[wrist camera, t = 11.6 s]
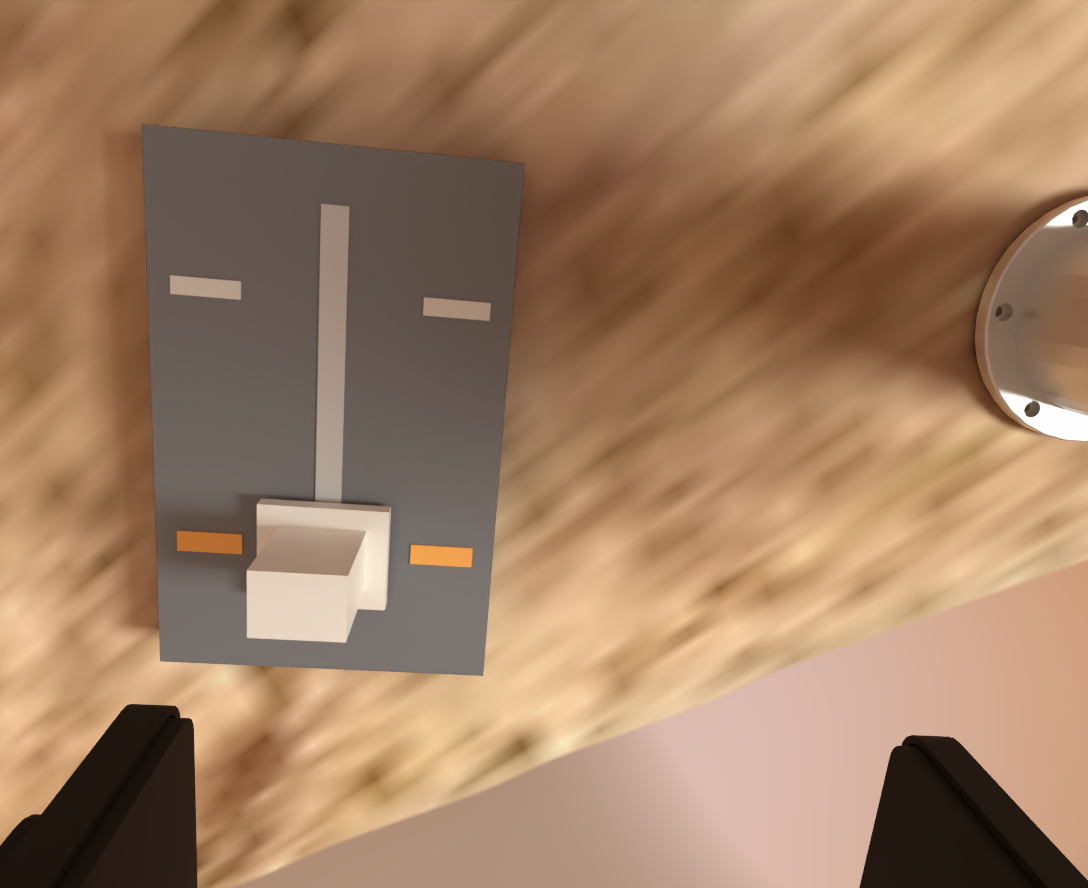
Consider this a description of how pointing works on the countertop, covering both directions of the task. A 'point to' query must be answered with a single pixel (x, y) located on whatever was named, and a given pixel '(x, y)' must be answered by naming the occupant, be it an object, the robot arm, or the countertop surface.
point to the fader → (316, 569)
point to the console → (327, 380)
